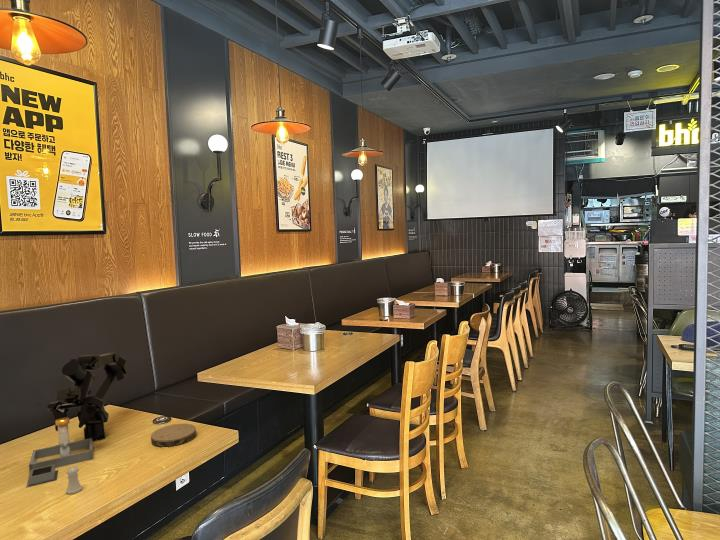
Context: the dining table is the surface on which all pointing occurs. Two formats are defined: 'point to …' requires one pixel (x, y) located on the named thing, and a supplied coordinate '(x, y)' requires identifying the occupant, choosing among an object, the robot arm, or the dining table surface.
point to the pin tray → (64, 459)
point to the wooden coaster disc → (173, 435)
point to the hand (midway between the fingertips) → (68, 429)
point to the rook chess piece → (73, 481)
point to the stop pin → (63, 436)
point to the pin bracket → (42, 475)
